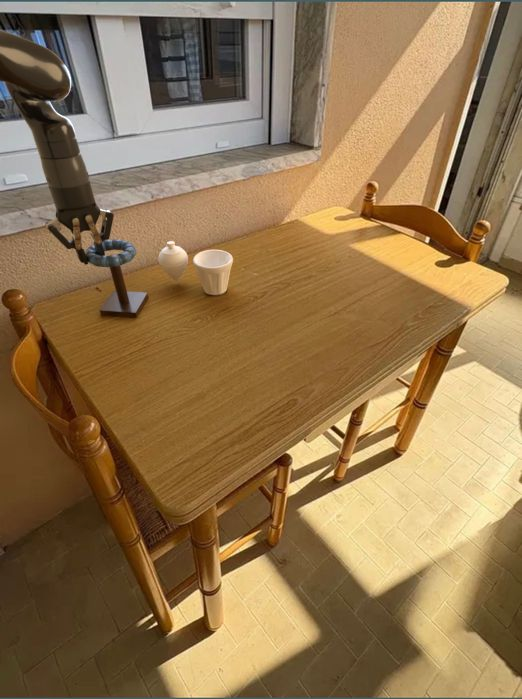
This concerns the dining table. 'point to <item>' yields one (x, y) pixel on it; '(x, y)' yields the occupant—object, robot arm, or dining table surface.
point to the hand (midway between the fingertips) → (92, 260)
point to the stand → (123, 298)
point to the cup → (213, 270)
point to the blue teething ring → (113, 259)
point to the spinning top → (173, 261)
